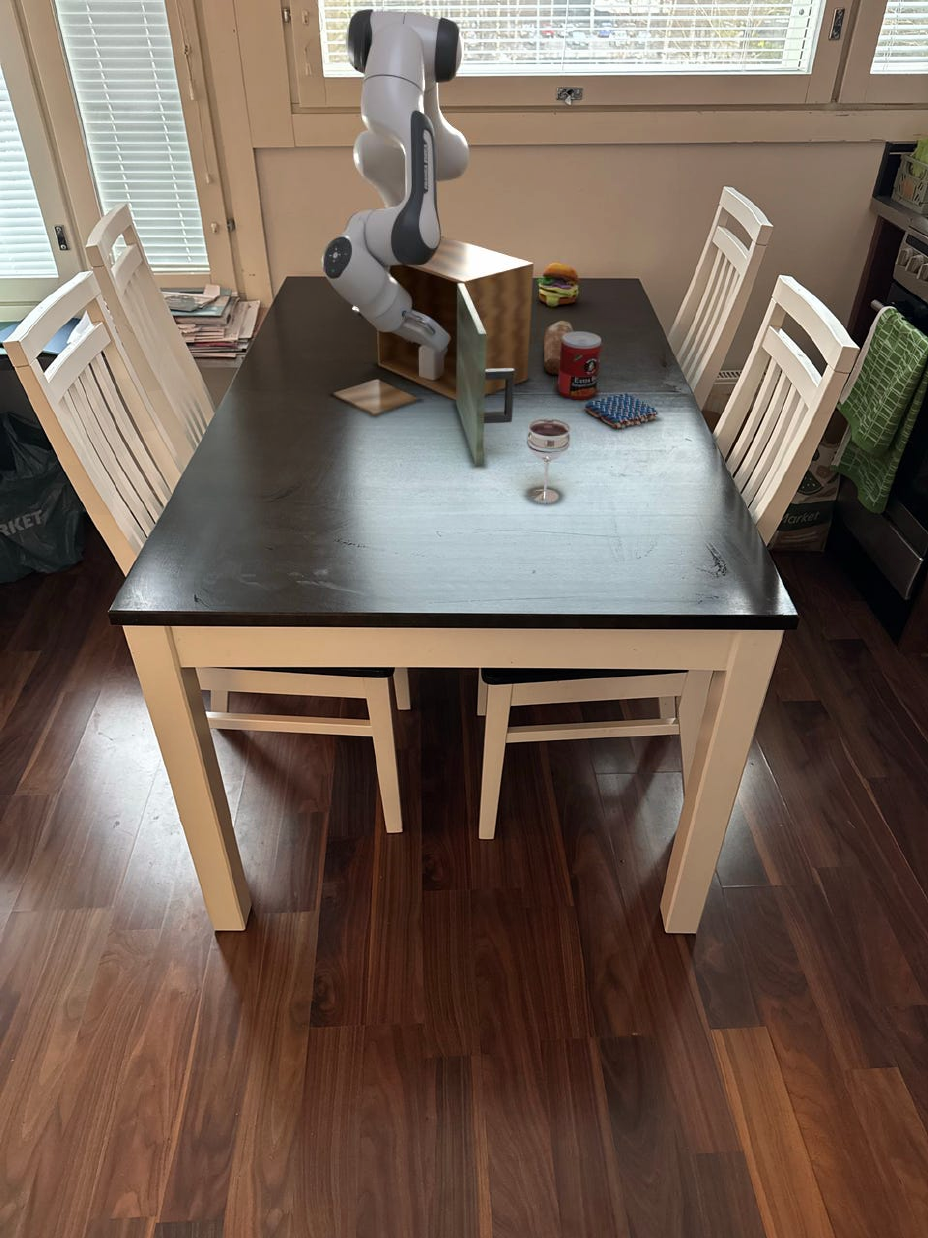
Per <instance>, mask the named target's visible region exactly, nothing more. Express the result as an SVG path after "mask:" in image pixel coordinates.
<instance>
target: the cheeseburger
mask: <svg viewBox="0 0 928 1238" xmlns="http://www.w3.org/2000/svg"><path fill="white" fill-rule="evenodd" d="M542 277H543V278H538V280H537V283H538V286H539V289H538V291H539V294H538V299H539V300H540V301H542V302H543V303H544V304H546V305H547V306H549V307H552V308H555V307H557V306H560V305H568V304H573V303H575V302H576V300H577V297H578V295H579V290H578V289H579V285H578V284H580V283H581V280H580V279H579V274H578V271H577V270H576V269H575V268H574V267H571V266H568V265H566V264H564V263H559V262H553V263H550V264H548V266H547V267H546V268H545V269H544V270H543V273H542Z"/></svg>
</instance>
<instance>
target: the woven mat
mask: <svg viewBox="0 0 928 1238" xmlns="http://www.w3.org/2000/svg"><path fill="white" fill-rule="evenodd" d="M584 408H585V410H586V411H587V413H589V414H590V415H592V416H594V417H595V418H600V419H601V420H602V421H603V422H604V423H606V424H608V425H609V426H612V427H613V428H617V429H620V428H622V429H625V428H626V427H627V426H630V425H631V426H634V425H637V426H640V425H641V422H645V423H648V421H649V420H650V421H651V420H655V421H656V420H658V416H657V415H659V412H658V410H656V409H655V407H651V406H650V405H649V404H646V403H644V401H640V400H639V399H638V398H635V397H634V396H633V395H628V392H625V393H619V394H616V395H612V396H608V397H607V398H606V397H605V398H603V397H602V398H600V399H596V400H592V401H591V400H590V401H589V402H588V403H585V405H584Z"/></svg>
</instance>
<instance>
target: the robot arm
mask: <svg viewBox="0 0 928 1238" xmlns="http://www.w3.org/2000/svg"><path fill="white" fill-rule="evenodd" d="M461 34H462V33H461V29H460V26H459V25H458V24H457V23H456V22H454V20H451V19H448V18H445V17H443V16H441V17H440V18H438V17H435V16H431V15H428V14H425V13H419V12H412V11H395V10H394V11H393V10H377V11H376V10H375V11H374V9H373V8H371V9H370V8H369V9H368V8H367V9H362V10H357V11H356V12H355V13H354V14H353V15H352V16H351V17H350V20H349V24H348V27H347V30H346V33H345V49H346V53H347V56H348V62H349V64H350V65H351V67H352V68H353V69H354V70H355V71H357V72H358V73H361V74H364V75H363V80H362V81H363V82H362V88H361V96H360V113H361V119H362V122H363V124H364V126H365V128H366V129H367V130H363V131H361V132H360V133H359V134H358V136H357V137H356V139H355V142H354V146H353V148H352V149H353V150H352V156H353V157H352V158H353V162H354V166H355V169H356V170H357V172H358V173H359V175H360V176H361V177H362V178H363V179H364V180H366V181H367V182H368V183H369V184H370V185H371V186H372V187H373V188H374V189H375V190H376V191H377V193H378V194H379V196H380V198H381V199H382V203H383V205H384V208H374V209H367V210H362V211H358V212H355V213H354V214H353V215H352V216H350V218H349V219H348V221H347V223H346V225H345V228H344V231H343V233H342V234H341V235H340V236H337V237H334V238H333V239H332V240H331V241H330V242H329V243H328V244H327V245H326V247H325V249H324V251H323V253H322V258H321V269H322V271H323V273H324V276H325V277H326V279H327V281H328V282H329V284H330V285H331V286H332V287H333V288H334V290H335V291H336V292H337V293H338V294H339V295H340V296H341V297H342V298H343V299H344V300H345V301H346V302H347V303H349V304H350V305H352V311H353V312H354V314H356V315H358V316H359V317H361V318H363V319H364V320H366V321H367V322H368V323H369V324H371V325H372V326H373V327H374V328H375V329H376V330H377V329H378V330H379V331H382V332H389V331H390V332H392V333H394V334H397V335H399V336H402V337H403V338H404V339H405V340H406V341H408V342H411V343H413V342H416V343H418V344H421V345H423V346H426V347H428V348H430V349H433V350H434V351H435V352H437V354H439V355H442V356H444V355H445V354H446V352H447V351H448V348H447V345H448V344H449V342H450V339H451V337H450V335H449V334H448V333H447V332H446V331H445V330H444V329H443V328H442V327H441V326H440V325H439V324H437V323H436V322H435V321H434V320H433V319H431V318H430V317H428V316H426V315H424V314H421V313H419V312H416V311H414V310H412V309H411V308H412V299H411V296H410V294H409V293H408V292H407V291H406V290H405V289H404V288H403V287H402V286H401V285H400V284H399V283H398V282H397V281H396V280H395V279H394V278H393V277H392V276H391V275H390V273H389V270H390V267H391V266H392V265H402V264H404V265H424V264H426V263H428V262H429V261H430V260H431V259H432V257H433V256H434V255H435V253H436V251H437V249H438V247H439V244H440V240H441V236H442V230H441V224H440V218H439V211H438V191H437V189H438V185H437V183H443V182H447V181H448V182H449V181H452V180H457V179H460V178H461V177H462V176H463V174H464V173H465V172H466V171H467V168H468V165H469V161H470V148H469V144H468V141H467V140H466V138H465V136H464V135H463V133H461V132H460V131H459V130H457V129H456V128H455V127H453V126H452V125H451V124H450V123H448V122H447V120H446V119H445V118H444V116H443V114H442V112H441V109H440V104H439V87H438V86H439V84H441V83H442V84H443V83H449V82H451V81H453V79H454V78H456V77H457V74H458V71H459V70H460V69H461V65H462V63H463V58H464V41H463V37H462V35H461Z"/></svg>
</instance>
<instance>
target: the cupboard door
mask: <svg viewBox="0 0 928 1238" xmlns="http://www.w3.org/2000/svg"><path fill="white" fill-rule="evenodd" d="M486 335H487V334H486V332H485V329H484V327H483V325H482V323H481V321H480V318H479V316H478V314H477V312H476V309H475V307H474V305H473V303H472V301H471V298H470V296H469V294H468V292H467V289H466V287H465V285H464V283H461V284H457V383H456V400H455V405H456V408H457V412H458V413H459V417H460V420H461V423H462V426H463V429H464V433H465V436H466V438H467V443H468V446H469V448H470V449H469V450H470V452H471V455H472V458H473V461H474V465H475V467H483V466H484V441H485V440H484V438H485V437H484V435H485V424H502V423H503V424H506V423H512V422H513V411H514V387H515V384H514V371H515V370H514V369H513V368H499V369H486ZM504 379H506V381H505V388H504V405H503V406H504V407H503V408H504V410H503V411H490V412H486V411H485V405H486V403H485V400H486V395H485V380H504Z"/></svg>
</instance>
